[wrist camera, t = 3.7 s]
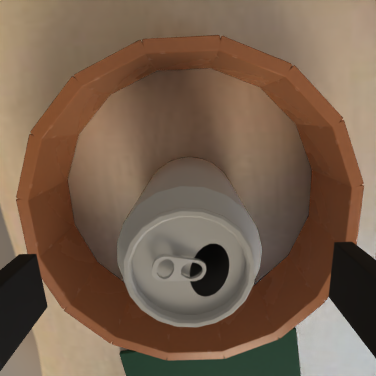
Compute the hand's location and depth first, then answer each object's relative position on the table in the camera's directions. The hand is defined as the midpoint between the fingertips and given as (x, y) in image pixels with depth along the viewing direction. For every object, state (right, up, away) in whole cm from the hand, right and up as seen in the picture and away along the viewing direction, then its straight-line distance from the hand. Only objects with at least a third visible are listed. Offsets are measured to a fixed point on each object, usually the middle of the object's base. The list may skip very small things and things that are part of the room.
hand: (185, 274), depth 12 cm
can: (0, +3, +12) cm, 12 cm away
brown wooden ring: (0, +3, +12) cm, 12 cm away
